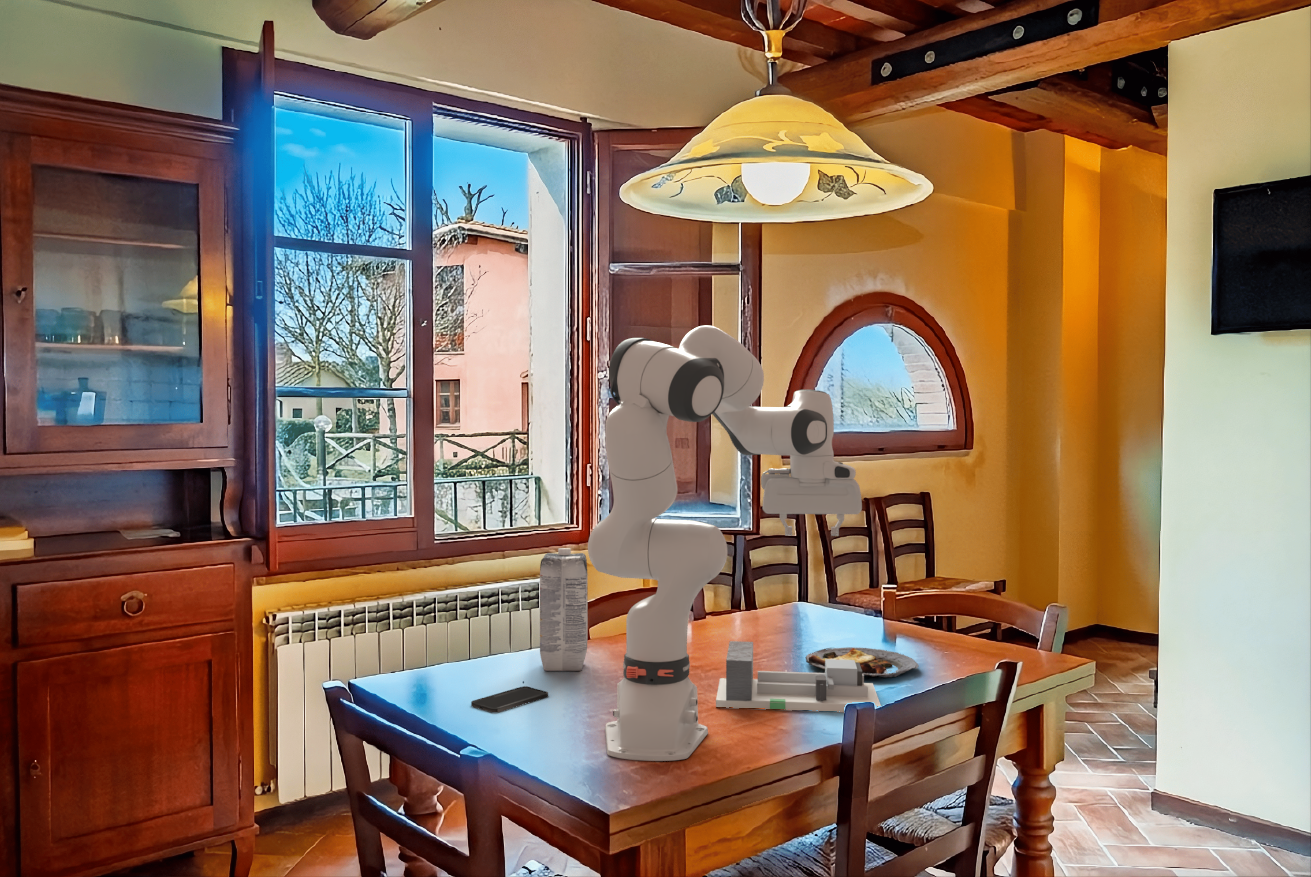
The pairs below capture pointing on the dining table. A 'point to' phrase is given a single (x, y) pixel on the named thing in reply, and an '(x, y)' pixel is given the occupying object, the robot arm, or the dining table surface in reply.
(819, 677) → the block
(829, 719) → the dining table surface
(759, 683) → the base
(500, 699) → the phone
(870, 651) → the food plate
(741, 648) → the grey rectangular block
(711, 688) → the dining table surface
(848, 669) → the block
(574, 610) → the juice carton
